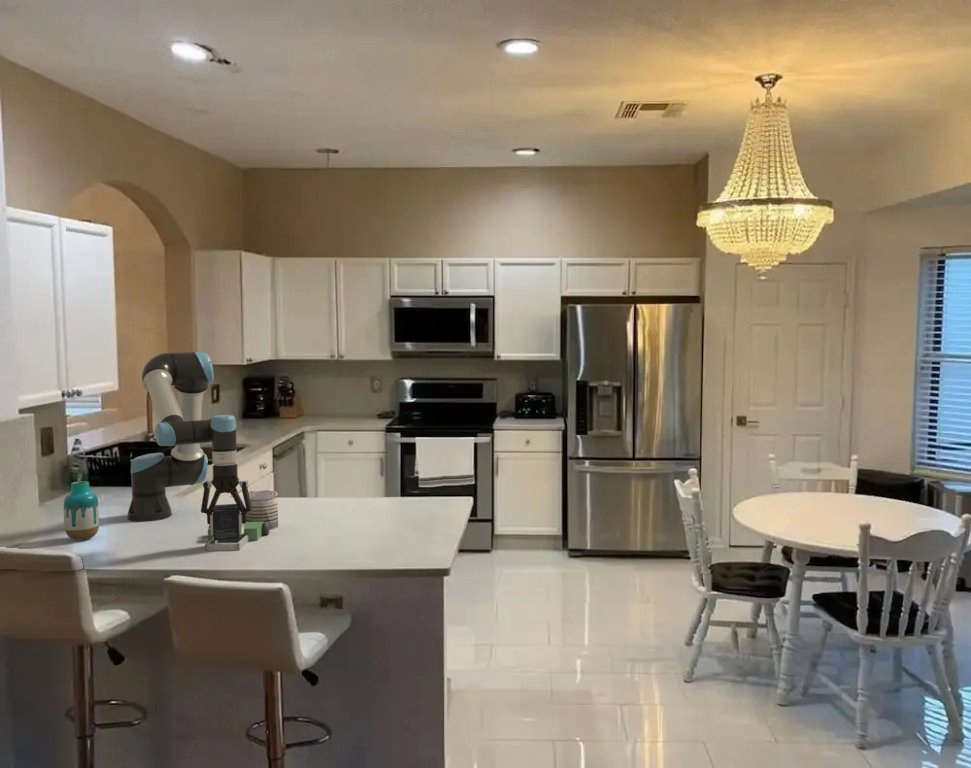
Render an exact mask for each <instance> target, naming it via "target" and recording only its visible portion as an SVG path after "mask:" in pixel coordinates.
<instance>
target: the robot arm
mask: <svg viewBox="0 0 971 768" xmlns="http://www.w3.org/2000/svg"><path fill="white" fill-rule="evenodd" d="M214 379H215V375H214V367H213V363H212V360H211V357H210V355H209V354H208V353H207V352H202V351H201V352H200V351H199V352H197V351H194V352H193V351H192V352H191V351H190V352H188V351H187V352H163V353H160V354H157V355H155V356H154V357H152V358H150V359H149V360H148V361H147V363H146V364H145V365H144V367H143V369H142V373H141V382H142V384H143V387H144V389H145V390H146V391H147V392H148V394H149V396H150V399H151V402H152V405H153V408H154V411H155V414H156V418H157V421H158V423H157V424H156V426H155V431H154V432H155V440H156V443H157V445H158V446H160V447H173V448H171V451H170V455H167V456H165V454H164V453H163V452H156V453H155V452H154V453H152V452H151V453H147V454H143V455H140V456H136V457H135V458H133V459H132V461H131V463H130V472H129V473H130V475H131V501H130V503H129V507H128V511H127V520H129V521H132V522H147V521H148V522H150V521H157V520H162V519H166V518H169V517H171V516H172V508H171V504H170V503H169V500H168V498H167V495H166V489H167V488H172V487H173V488H174V487H181V486H182V487H183V486H194V485H198V484H202V486H203V493H202V494H203V495H202V500H201V501H202V502H201V507H200V508H201V509H200V513H202V514H206V518H207V519H206V521H207V522H206V523H207V525H211V535H214V529H213V508H214V506H215V505H217V502H218V501H219V498H220V496H221V494H225V493H226V494H230V495H231V496H232V498H233V500H234V502H235V504H237V506H238V508H239V510H240V514H239V535H242V534H243V533H244V524H245V523H246V522H247V516H246V513H247V512H250V511H251V510H252V505H251V501H250V497H249V493H250V492H249V489H248V486H249V481H248V480H241V479H239V477H238V476H239V474H238V472H239V471H238V464H237V462H238V456H237V455H238V453H237V451H238V450H237V421H236V417H235V416H234V415H232V414H219V415H212V417H211V418H208V419H202V415H203V400H204V399H203V398H204V394H205V392H207V390H208V388H209V387H208V386H209V385H211V384H213V383H214ZM173 388H174V389H173ZM174 390H175V391H176V392H177V397H176V394H175V391H174ZM209 443H210V444H211V451H212V452H211V456H212V464H213V465H212V480H210V481H209V480H206V478H207V476H208V471H209V470H208V469H209V466H208V464H209V463H208V462H209V461H208V456H207V454H206V452H205V453H204V450H203V449H202V448H201V446H200V445H201V444H209ZM205 480H206V481H205ZM238 485H239V487H240V488H241V493H242V496H243V497H242V498H243V501H244V502H243V501H242V498H241V497H240V494H239V492H238V489H237V487H238ZM212 486H213V487H214V489H215V491H214V494H213V496H212V498H211V501H210V504H209V499H210V492H211V488H212ZM208 504H209V506H208Z"/></svg>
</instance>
